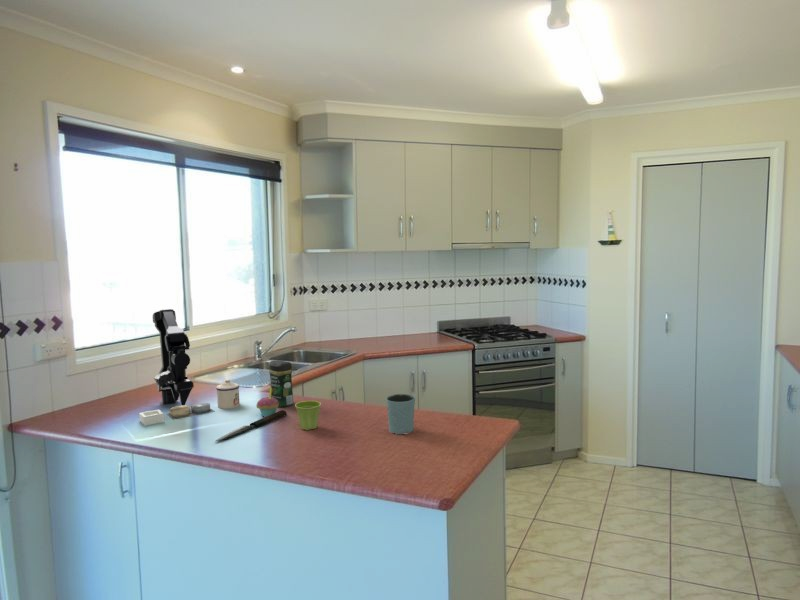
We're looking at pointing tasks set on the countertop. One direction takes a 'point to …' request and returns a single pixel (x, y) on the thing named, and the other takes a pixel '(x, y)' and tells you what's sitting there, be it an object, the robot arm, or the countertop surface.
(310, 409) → the plant pot
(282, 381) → the coffee jar
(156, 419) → the open white box
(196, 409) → the grey puck
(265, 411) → the cupcake
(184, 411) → the cork lid
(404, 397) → the blue cup
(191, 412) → the mat
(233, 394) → the teacup with lid
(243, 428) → the kitchen knife
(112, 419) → the countertop surface
